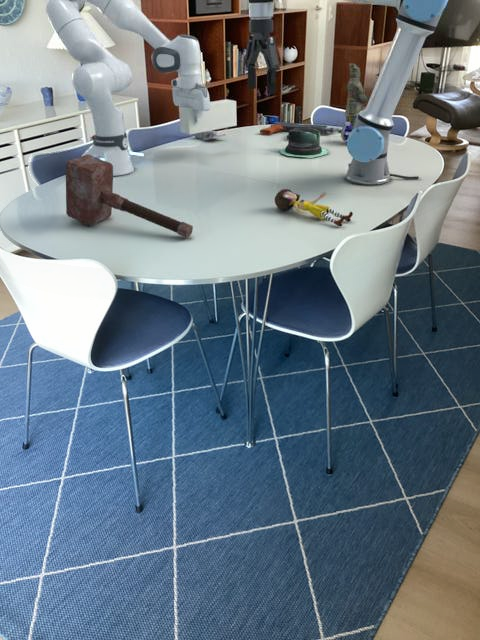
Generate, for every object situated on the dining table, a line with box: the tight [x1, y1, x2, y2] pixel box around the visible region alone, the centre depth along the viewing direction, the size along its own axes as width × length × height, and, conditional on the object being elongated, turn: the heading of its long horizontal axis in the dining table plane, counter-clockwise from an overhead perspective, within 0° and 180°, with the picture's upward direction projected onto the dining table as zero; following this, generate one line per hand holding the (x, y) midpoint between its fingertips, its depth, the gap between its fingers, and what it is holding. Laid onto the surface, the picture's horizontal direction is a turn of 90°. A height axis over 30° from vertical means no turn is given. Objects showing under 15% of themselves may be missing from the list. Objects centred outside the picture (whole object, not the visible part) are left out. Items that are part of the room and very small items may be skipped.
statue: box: [344, 62, 368, 127], centre depth 262 cm, size 11×9×30 cm
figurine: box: [274, 188, 354, 227], centre depth 167 cm, size 13×8×25 cm
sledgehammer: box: [65, 154, 194, 239], centre depth 159 cm, size 17×10×40 cm
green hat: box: [279, 128, 328, 159], centre depth 234 cm, size 15×19×20 cm
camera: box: [194, 130, 227, 141], centre depth 257 cm, size 9×12×15 cm
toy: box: [338, 121, 353, 142], centre depth 244 cm, size 9×9×15 cm
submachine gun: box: [259, 121, 335, 140], centre depth 264 cm, size 32×3×25 cm
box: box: [178, 99, 238, 135], centre depth 222 cm, size 24×6×10 cm, turn 130°
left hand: (192, 120), depth 218 cm, fingers closed on box, 6 cm apart
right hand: (261, 91), depth 184 cm, fingers open, 13 cm apart
